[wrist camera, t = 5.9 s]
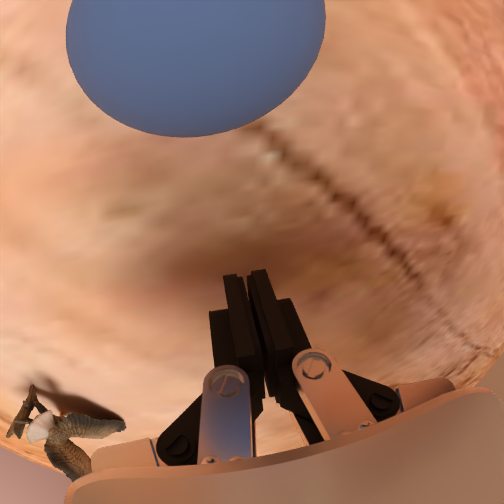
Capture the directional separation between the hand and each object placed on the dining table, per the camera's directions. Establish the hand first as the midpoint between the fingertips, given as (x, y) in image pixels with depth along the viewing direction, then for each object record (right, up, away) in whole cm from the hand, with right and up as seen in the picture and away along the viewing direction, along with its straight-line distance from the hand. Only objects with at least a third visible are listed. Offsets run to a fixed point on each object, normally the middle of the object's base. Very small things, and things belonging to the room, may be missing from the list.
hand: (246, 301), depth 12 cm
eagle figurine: (-14, -11, +6) cm, 19 cm away
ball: (-1, +7, -7) cm, 10 cm away
